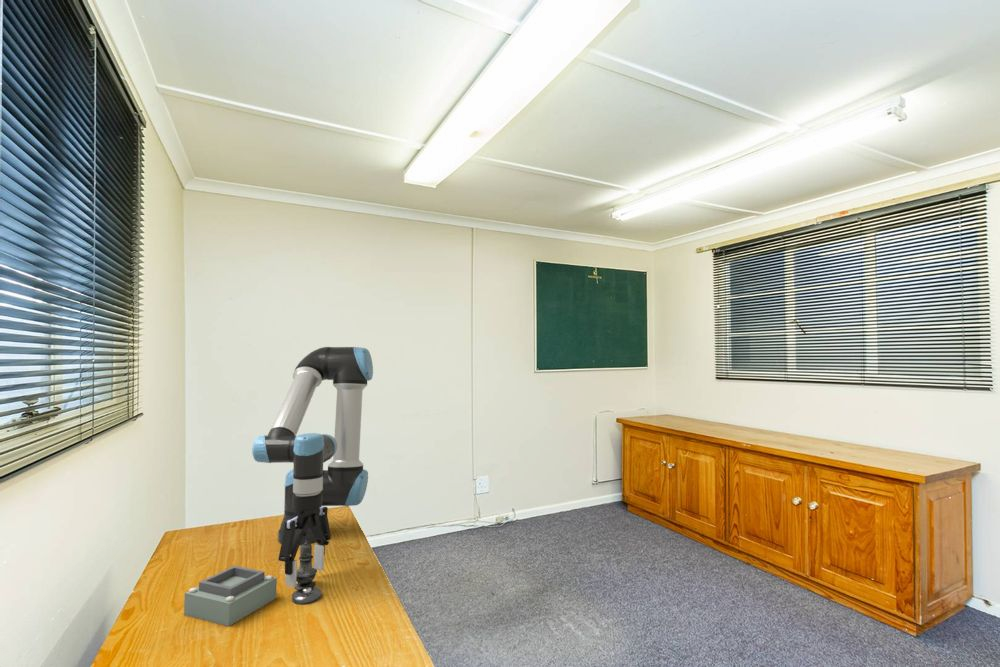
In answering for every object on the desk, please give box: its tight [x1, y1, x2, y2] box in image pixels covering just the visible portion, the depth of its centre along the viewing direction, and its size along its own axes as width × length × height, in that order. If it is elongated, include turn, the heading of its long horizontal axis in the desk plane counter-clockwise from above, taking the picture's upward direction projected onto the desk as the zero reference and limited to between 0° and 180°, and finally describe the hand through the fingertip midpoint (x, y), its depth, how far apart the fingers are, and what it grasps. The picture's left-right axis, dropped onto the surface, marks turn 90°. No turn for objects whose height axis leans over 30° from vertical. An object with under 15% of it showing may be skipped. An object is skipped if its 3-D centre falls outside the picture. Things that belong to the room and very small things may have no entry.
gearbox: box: [183, 565, 278, 627], centre depth 121 cm, size 14×16×7 cm
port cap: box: [291, 586, 323, 605], centre depth 125 cm, size 7×7×2 cm
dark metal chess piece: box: [293, 540, 318, 591], centre depth 131 cm, size 6×6×12 cm
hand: (305, 577), depth 131 cm, fingers open, 10 cm apart
